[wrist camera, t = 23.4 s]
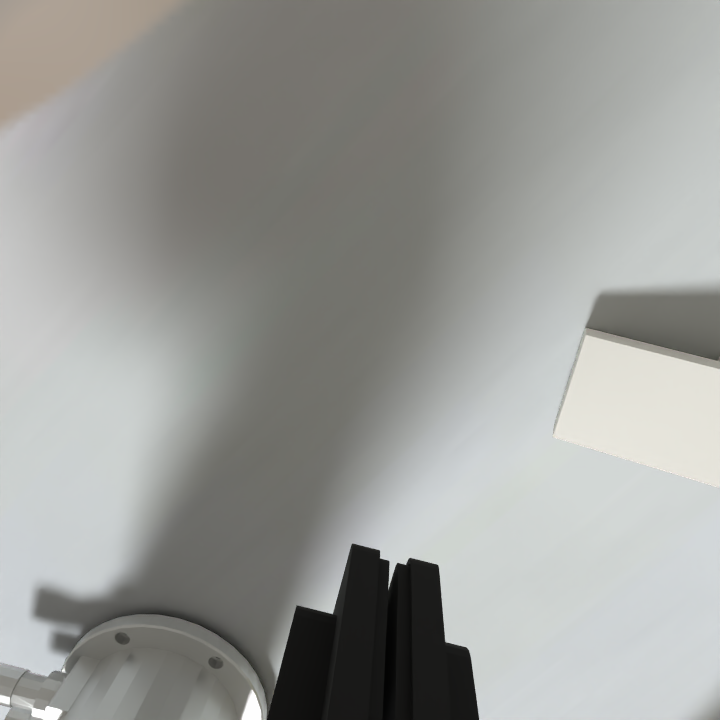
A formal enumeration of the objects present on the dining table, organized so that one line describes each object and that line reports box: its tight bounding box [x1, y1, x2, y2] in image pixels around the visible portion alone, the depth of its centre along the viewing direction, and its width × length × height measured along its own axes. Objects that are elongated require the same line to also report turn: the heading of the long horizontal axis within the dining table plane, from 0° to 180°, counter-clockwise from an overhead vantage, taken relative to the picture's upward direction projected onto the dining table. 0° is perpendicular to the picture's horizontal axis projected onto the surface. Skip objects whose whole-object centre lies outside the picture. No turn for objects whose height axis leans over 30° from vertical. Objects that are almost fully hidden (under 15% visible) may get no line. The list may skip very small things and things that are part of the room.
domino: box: [553, 328, 720, 488], centre depth 26 cm, size 2×5×10 cm
